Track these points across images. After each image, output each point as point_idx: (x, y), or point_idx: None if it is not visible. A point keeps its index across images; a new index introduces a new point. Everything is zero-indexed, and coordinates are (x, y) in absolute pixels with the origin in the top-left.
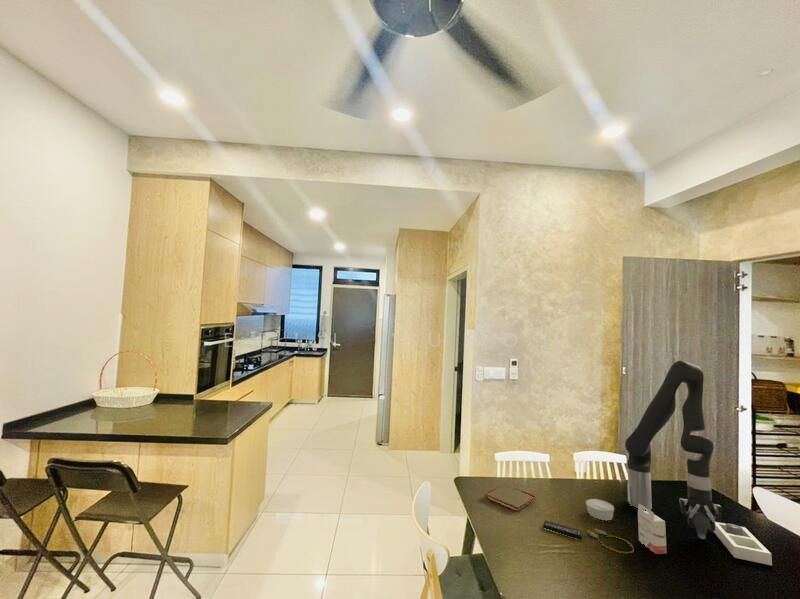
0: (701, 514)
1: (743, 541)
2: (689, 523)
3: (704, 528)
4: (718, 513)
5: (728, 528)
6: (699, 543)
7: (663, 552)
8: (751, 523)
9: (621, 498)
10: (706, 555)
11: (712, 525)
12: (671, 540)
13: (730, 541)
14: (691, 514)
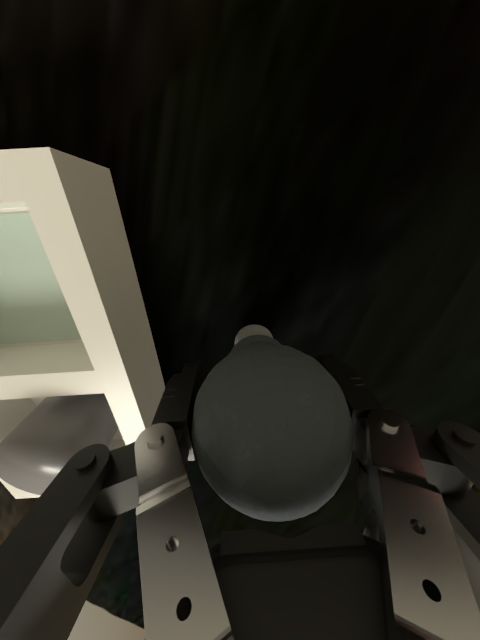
0: (279, 491)
1: (25, 360)
2: (351, 375)
3: (254, 345)
4: (9, 604)
5: (83, 442)
6: (283, 271)
7: None
8: None
9: None
10: (301, 71)
11: (180, 397)
12: (459, 216)
13: (79, 254)
14: (398, 452)
